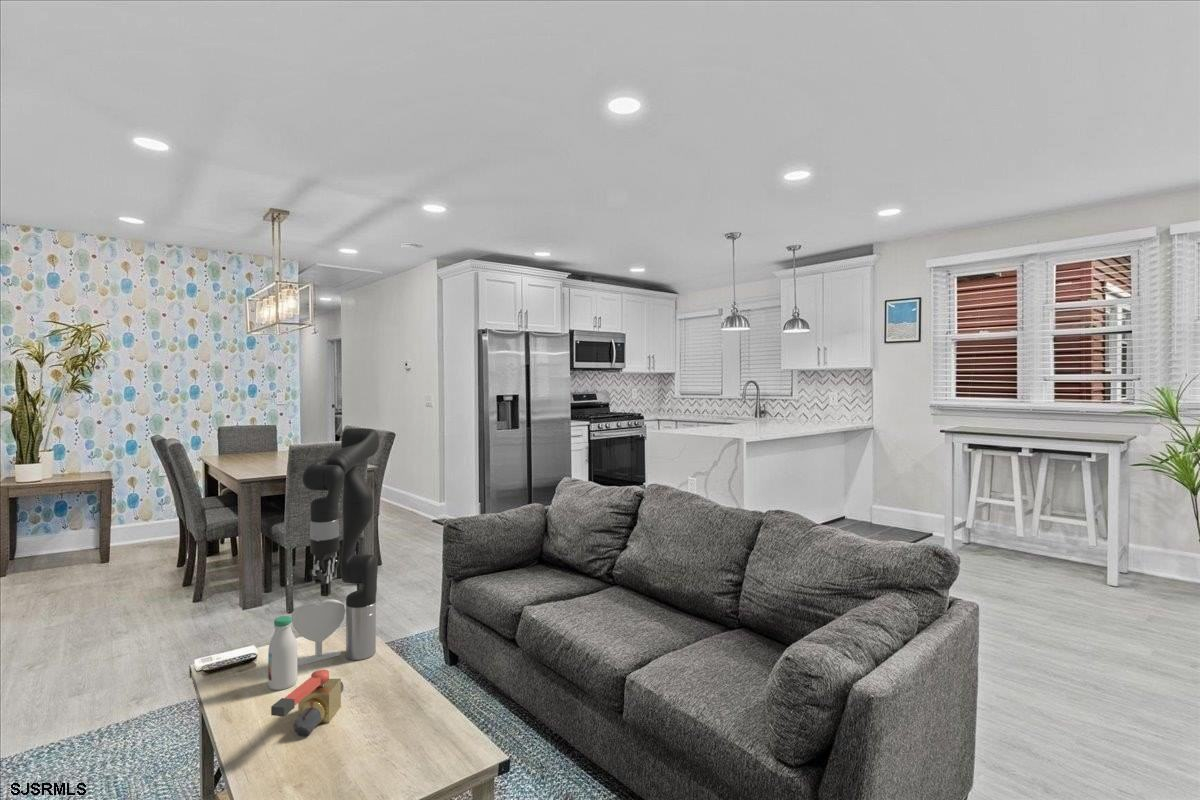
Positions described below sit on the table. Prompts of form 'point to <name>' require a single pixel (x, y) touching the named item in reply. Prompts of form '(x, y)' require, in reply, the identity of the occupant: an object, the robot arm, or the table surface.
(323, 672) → the lever
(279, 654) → the milk bottle
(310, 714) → the valve body
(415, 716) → the table surface
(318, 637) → the heart sculpture
